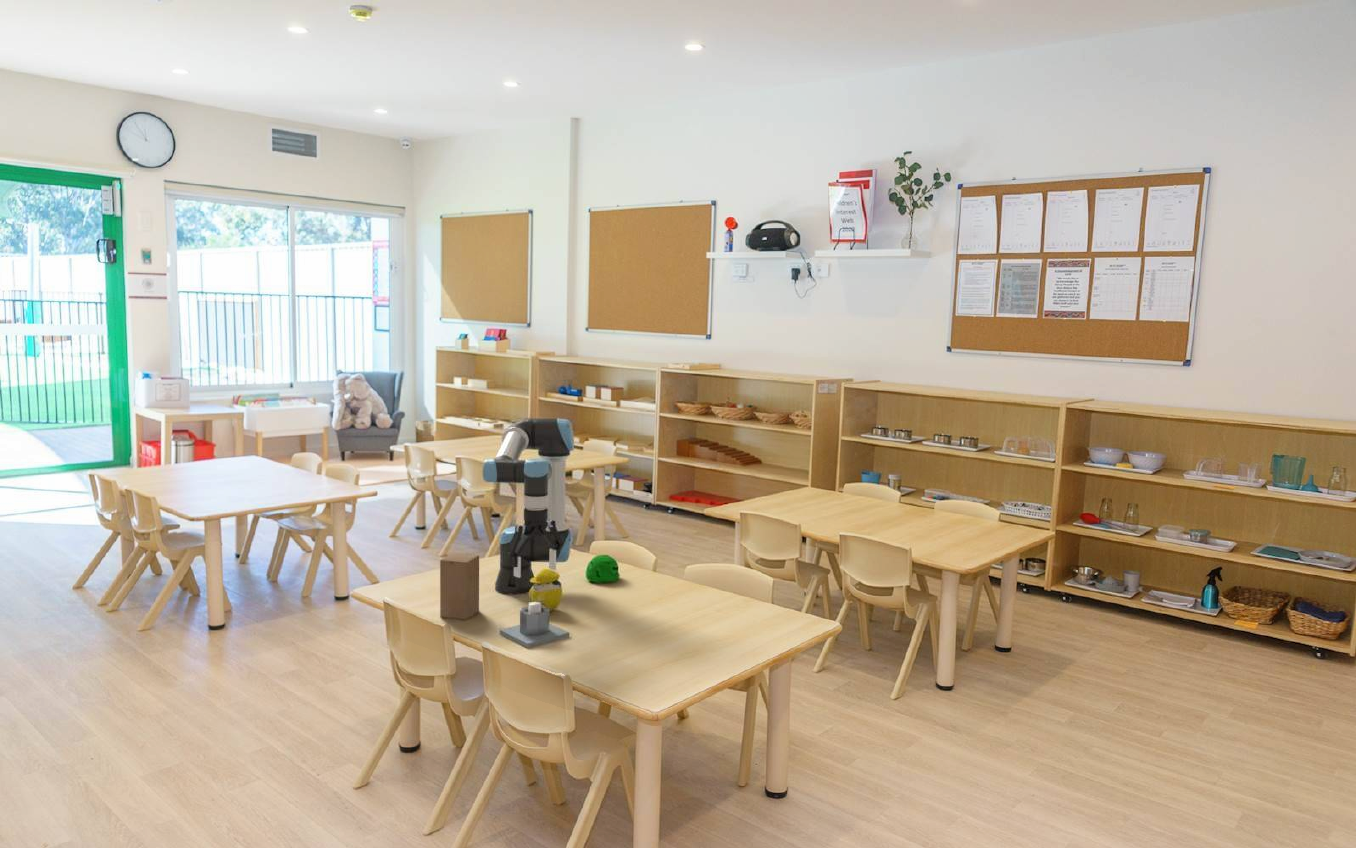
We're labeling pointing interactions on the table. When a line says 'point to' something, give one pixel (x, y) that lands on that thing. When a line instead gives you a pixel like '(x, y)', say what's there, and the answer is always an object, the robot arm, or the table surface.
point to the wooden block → (459, 586)
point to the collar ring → (534, 622)
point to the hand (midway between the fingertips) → (535, 573)
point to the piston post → (532, 641)
